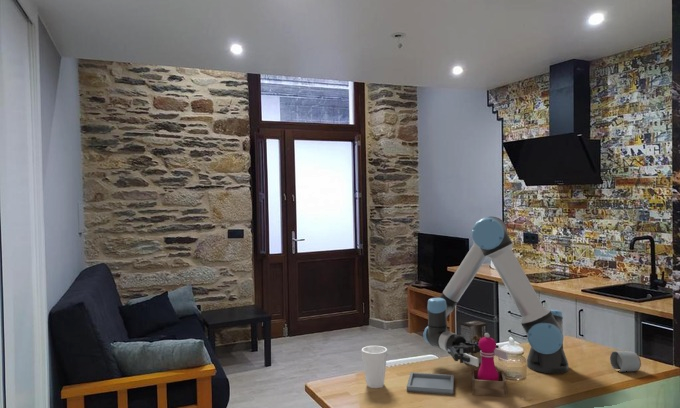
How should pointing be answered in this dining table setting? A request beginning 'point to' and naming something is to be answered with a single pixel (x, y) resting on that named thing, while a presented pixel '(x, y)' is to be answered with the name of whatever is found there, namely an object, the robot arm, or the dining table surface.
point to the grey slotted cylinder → (625, 361)
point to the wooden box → (488, 385)
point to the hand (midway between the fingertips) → (492, 359)
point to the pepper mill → (487, 359)
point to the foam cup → (374, 365)
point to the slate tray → (430, 383)
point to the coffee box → (473, 335)
